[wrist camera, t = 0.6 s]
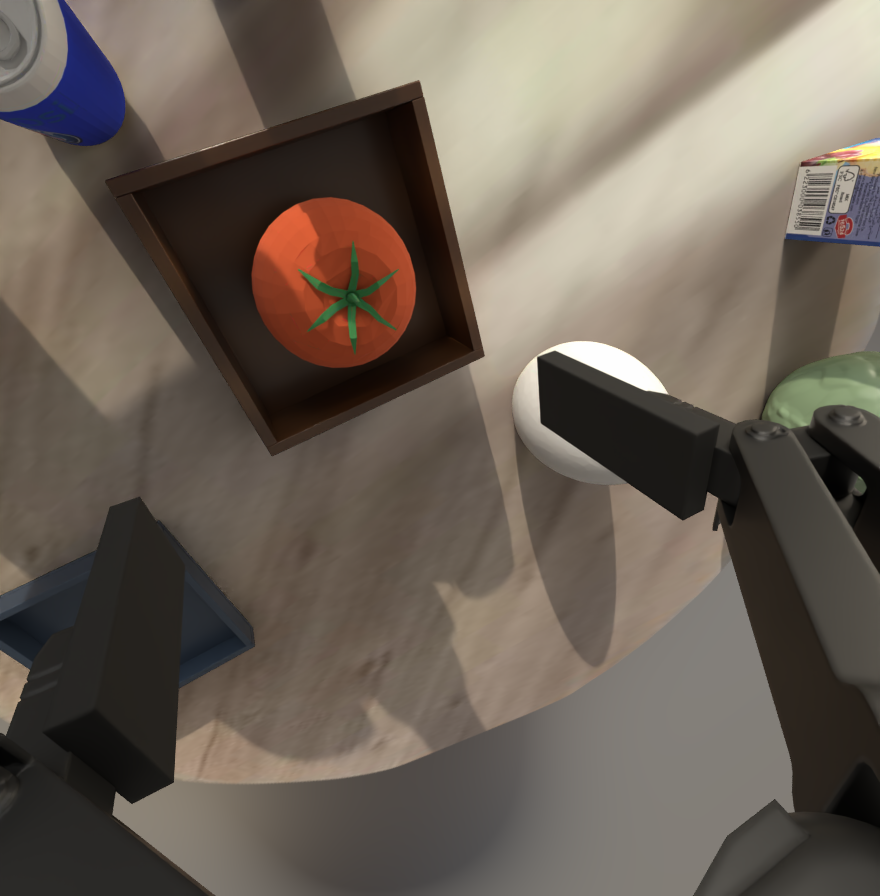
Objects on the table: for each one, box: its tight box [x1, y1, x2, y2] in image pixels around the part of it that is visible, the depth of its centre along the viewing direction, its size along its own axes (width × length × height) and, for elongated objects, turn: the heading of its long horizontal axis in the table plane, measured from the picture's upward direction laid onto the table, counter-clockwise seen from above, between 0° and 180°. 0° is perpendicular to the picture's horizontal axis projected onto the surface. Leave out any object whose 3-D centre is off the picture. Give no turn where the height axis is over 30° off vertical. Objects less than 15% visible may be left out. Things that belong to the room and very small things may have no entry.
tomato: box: [252, 197, 416, 368], centre depth 30 cm, size 10×10×10 cm
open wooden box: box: [105, 80, 485, 456], centre depth 32 cm, size 18×18×5 cm
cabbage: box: [762, 352, 880, 494], centre depth 57 cm, size 16×19×20 cm
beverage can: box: [0, 0, 125, 146], centre depth 19 cm, size 5×5×15 cm
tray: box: [0, 521, 255, 688], centre depth 39 cm, size 15×13×2 cm
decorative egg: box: [512, 341, 668, 485], centre depth 41 cm, size 12×12×15 cm
